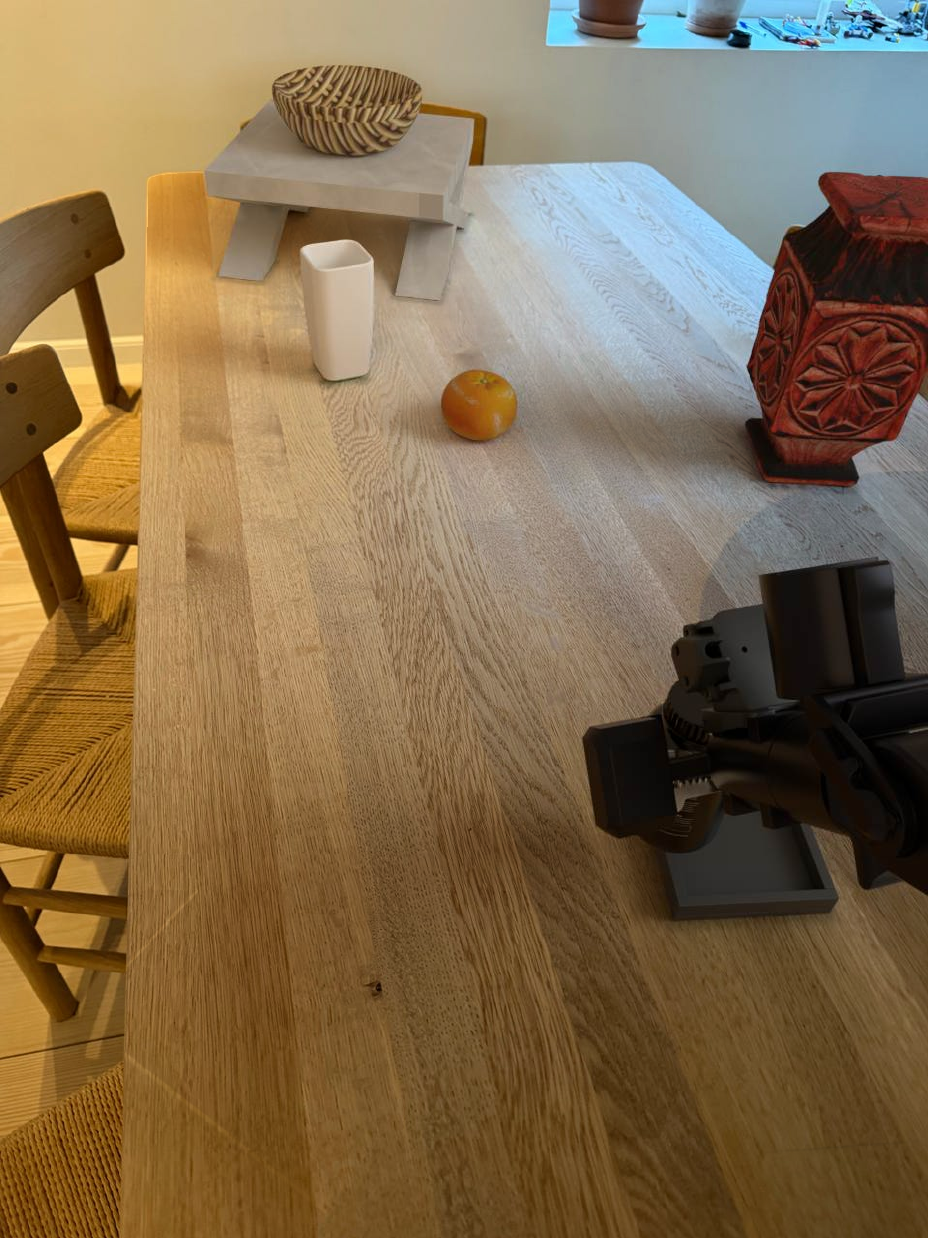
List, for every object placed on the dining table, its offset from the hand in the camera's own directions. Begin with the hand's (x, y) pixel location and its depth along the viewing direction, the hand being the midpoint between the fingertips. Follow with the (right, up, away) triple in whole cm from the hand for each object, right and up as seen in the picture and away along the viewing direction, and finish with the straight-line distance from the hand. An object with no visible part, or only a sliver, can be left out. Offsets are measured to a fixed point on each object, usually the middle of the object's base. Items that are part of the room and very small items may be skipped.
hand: (681, 740), depth 64 cm
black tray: (+6, -9, +9) cm, 14 cm away
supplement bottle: (0, -6, +4) cm, 7 cm away
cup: (-30, +39, +56) cm, 74 cm away
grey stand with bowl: (-32, +66, +83) cm, 110 cm away
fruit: (-13, +30, +48) cm, 58 cm away
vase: (+24, +27, +47) cm, 59 cm away
